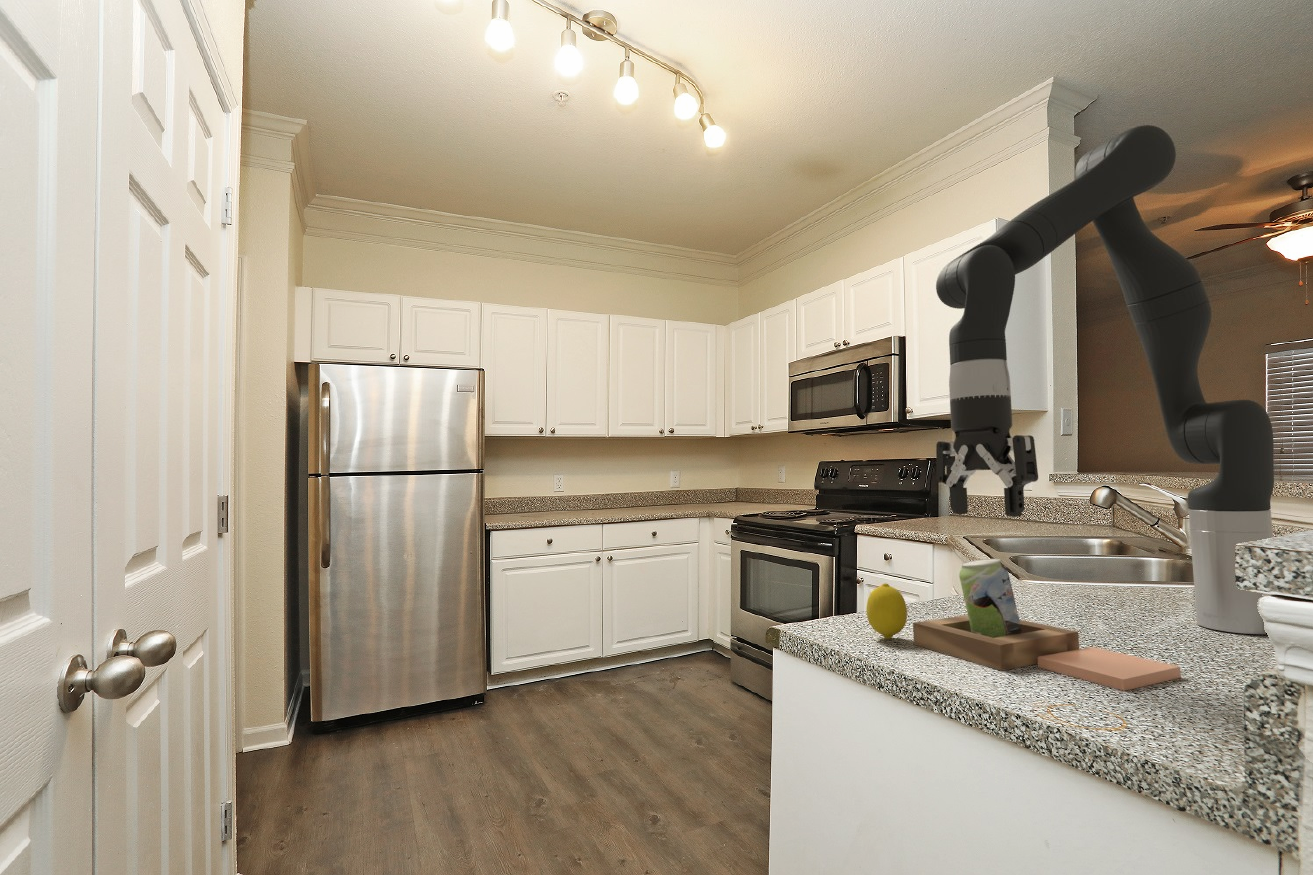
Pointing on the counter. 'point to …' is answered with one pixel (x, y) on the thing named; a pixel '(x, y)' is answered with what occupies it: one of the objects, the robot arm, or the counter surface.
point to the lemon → (886, 610)
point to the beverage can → (989, 598)
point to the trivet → (1109, 668)
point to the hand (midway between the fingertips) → (985, 515)
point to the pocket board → (994, 642)
